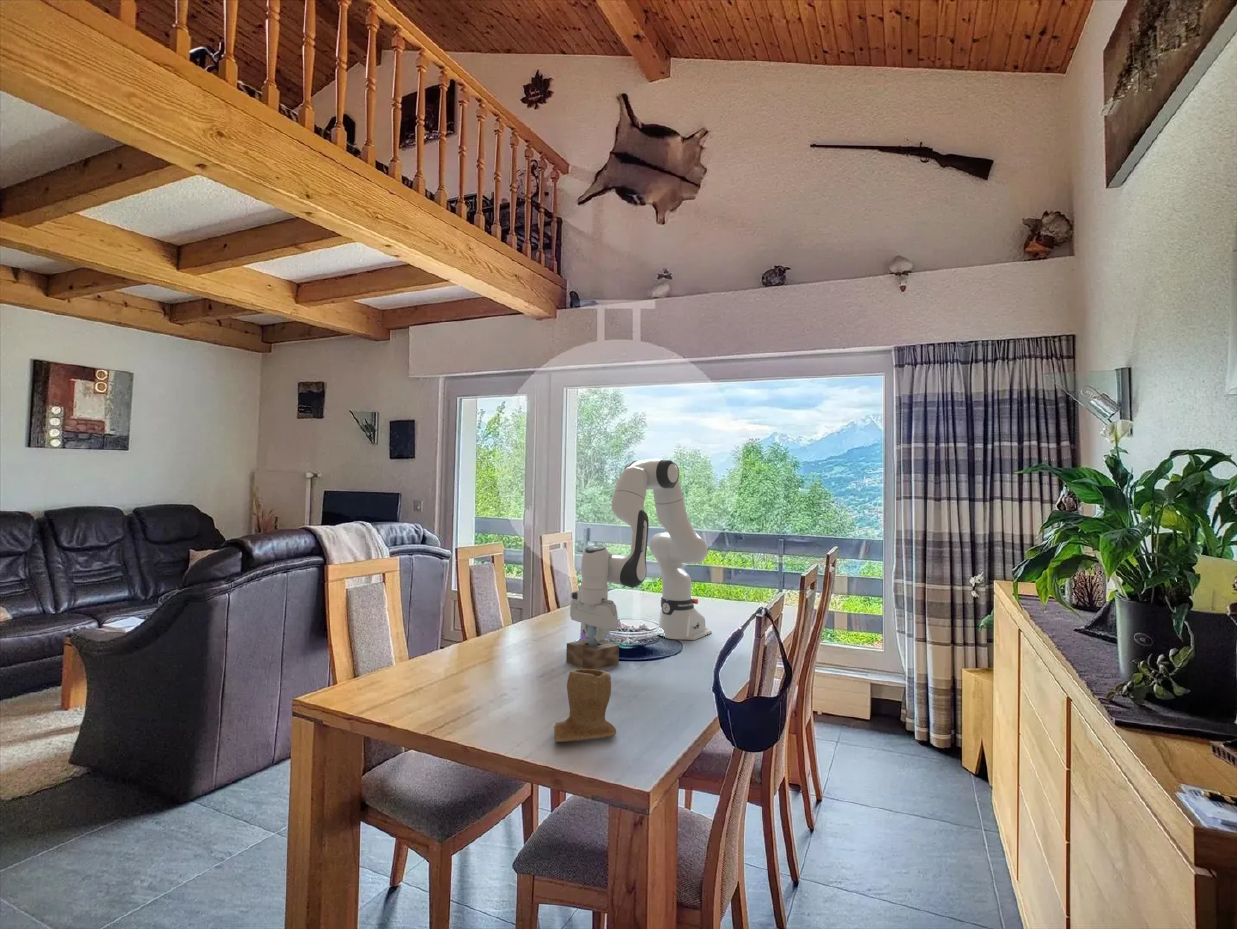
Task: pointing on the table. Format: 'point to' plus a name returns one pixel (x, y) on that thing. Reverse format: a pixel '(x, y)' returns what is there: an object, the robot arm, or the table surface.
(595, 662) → the socket block
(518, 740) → the table surface
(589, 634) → the peg
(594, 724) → the tan suede boot
